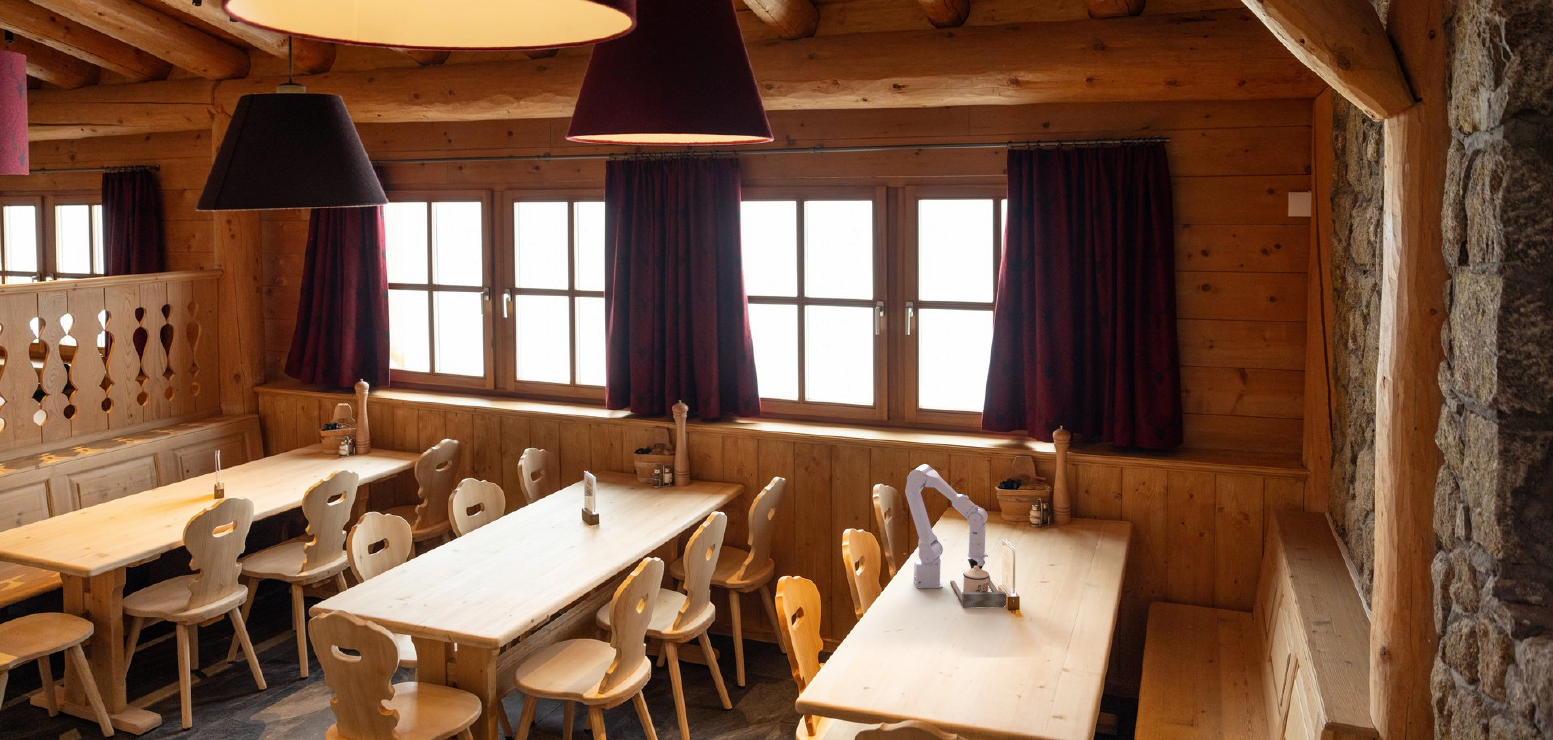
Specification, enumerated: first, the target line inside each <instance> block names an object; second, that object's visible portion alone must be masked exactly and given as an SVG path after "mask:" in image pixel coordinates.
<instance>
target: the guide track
mask: <svg viewBox="0 0 1553 740" xmlns="http://www.w3.org/2000/svg"><path fill="white" fill-rule="evenodd" d="M950 584H951V585H950ZM949 585H950V586H951V588H952V590H953V592H954V594H955V596H956V598H957V597H958V598H957V599H958V601H959V603H960V605H961V607H962V606H963V607H962V608H963V609H972V608H971V607H1004V606H1005V605H1006V606H1007V595H1006V594H1007V592H1006V591H999V590H998V589H997V587H996V586H995V584H994V583H993V581H992V579H990V584H989V587H988V589H989V590H990V589H991V590H990V591H988V592H963V591H962V592H961V589H960V588H959V586H958V585H957V583H956V581H955V580H950V583H949ZM991 591H992V592H991ZM1005 592H1006V593H1005ZM969 607H970V608H969Z"/></svg>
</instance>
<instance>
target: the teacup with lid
mask: <svg viewBox="0 0 1553 740" xmlns="http://www.w3.org/2000/svg"><path fill="white" fill-rule="evenodd" d="M962 576H963V590H962V592H989V587H988V586H989V584H990V580H991V576H990V574H989V572H988V571H987V570H985V569H983V568H982V569H980V568H979V566H974V568H972V569H971V568H969V569H966V570H964V571H963V575H962Z"/></svg>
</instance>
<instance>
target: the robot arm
mask: <svg viewBox="0 0 1553 740" xmlns="http://www.w3.org/2000/svg"><path fill="white" fill-rule="evenodd" d="M924 487H925V488H935V489H936V490H937V491H938V492H940V493H941V494H942V495H943V496H944V497H946V498H947V499H949V500H950V501H951V503H952V507H953V508H954V509H955V510H956V511H957V512H959V513H960V515H962V516H963V517H964V518H965V519H966V520H967V525H968V526H969V529H968V530H969V531H968V554H967V557H968V559H967V561H968V563H969V566H970V569H972V568H974V566H979V568H980V569H982V570H983V567H984V566H985V563H986V561H985V558H988V556H989V554H988V553H986V522H987V521H988V517H989V516H988V512H987V511H986V510H985V508H984V507H983V508H982V507H980V506H979V505H976V504H975V503H974V502H972V500H970V499H969V498H970V496H968V495H966V494H962V493H961V494H960V493H959V494H958V492H957V491H956V490H955V489H954V488H952V486H951V485H949V483H947V482H946V481H945V480H944V479H943V477H941V475H939V473H938V471H937V470H935V469H933V468H932V467H931V466H930V465H929V464H926V463H924V464H921V465H919V466H918V467H917V468H915V469H913V470H911V471H910V472H909V474H908V475H907V476H906V485H905V490H904V493H905V496H906V499H907V504H908V505H909V506H908V507H909V509H910V513H911V517H912V518H913V522H914V525H915V529H916V533H917V535H918V543H917V546H918V558H919V559H920V560H917V561H914V563H913V565H914V566H913V583H914V586H915V587H916V588H917V589H933V588H934V589H942V588H943V584H942V583H941V558H940V557H941V556H942V554H943V552H944V548H943V545H942V544H941V542H940V541H939V539H938V537H937V535H936V534H934V533H933V529H932V526H931V523H930V520H929V519H930V518H929V517H928V513H927V509H926V506H925V502H924V500H923V497H922V493H921V492H922V490H923V489H924Z"/></svg>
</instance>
